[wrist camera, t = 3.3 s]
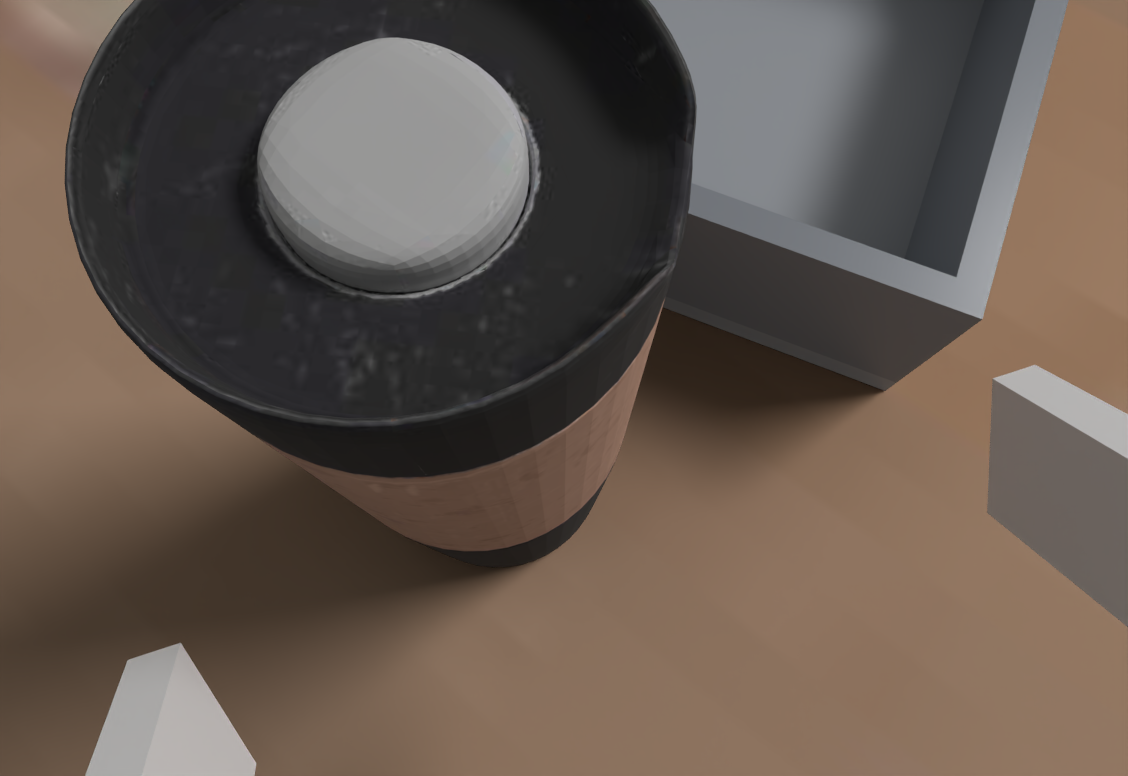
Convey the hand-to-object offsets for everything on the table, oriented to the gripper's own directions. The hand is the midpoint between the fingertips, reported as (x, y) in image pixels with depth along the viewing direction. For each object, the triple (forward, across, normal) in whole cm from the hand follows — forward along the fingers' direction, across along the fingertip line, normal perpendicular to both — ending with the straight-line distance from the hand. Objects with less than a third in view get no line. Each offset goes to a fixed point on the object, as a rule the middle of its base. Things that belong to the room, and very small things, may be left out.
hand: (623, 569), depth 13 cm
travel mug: (+15, -2, -7) cm, 16 cm away
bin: (+23, +12, +2) cm, 26 cm away
